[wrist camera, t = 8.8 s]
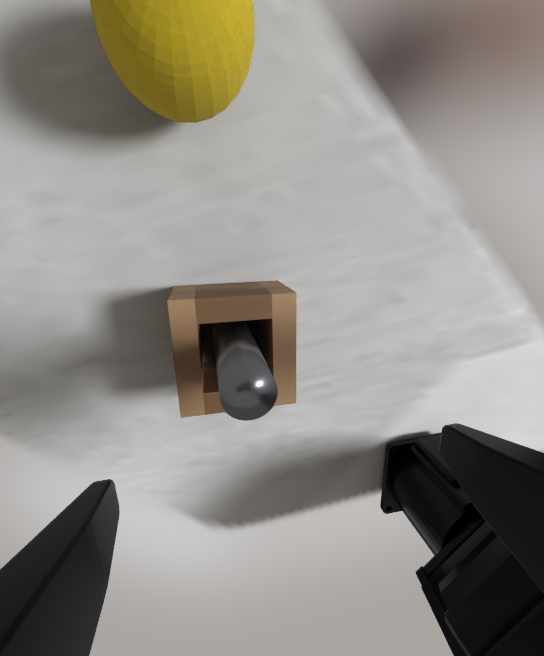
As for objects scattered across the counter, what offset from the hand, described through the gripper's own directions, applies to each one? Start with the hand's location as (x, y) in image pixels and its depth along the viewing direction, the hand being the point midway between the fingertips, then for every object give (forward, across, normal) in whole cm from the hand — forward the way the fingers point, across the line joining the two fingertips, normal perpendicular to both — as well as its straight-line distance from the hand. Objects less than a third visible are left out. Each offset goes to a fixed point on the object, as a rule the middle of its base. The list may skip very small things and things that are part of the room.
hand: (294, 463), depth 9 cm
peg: (+12, +1, 0) cm, 12 cm away
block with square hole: (+12, +1, 0) cm, 12 cm away
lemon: (+12, +2, -13) cm, 18 cm away
